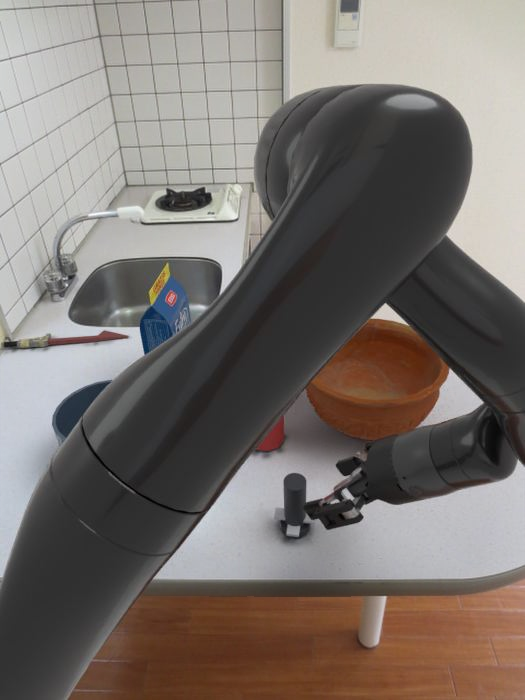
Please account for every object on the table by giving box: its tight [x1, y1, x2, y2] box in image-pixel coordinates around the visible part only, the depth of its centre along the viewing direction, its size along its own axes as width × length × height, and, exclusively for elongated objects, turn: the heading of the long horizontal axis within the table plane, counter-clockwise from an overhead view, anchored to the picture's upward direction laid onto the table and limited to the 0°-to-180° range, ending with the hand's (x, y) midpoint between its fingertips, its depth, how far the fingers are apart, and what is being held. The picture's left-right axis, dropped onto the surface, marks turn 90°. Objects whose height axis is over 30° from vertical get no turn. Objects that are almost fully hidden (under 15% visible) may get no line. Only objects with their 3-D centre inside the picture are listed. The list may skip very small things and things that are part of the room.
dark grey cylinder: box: [273, 472, 316, 540], centre depth 76 cm, size 6×6×10 cm
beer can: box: [255, 414, 285, 452], centre depth 91 cm, size 7×7×12 cm
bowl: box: [304, 318, 451, 441], centre depth 93 cm, size 25×25×15 cm
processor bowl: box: [51, 379, 114, 447], centre depth 89 cm, size 16×16×11 cm
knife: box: [0, 329, 130, 349], centre depth 124 cm, size 29×2×5 cm
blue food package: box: [139, 262, 192, 356], centre depth 101 cm, size 6×12×25 cm, turn 173°
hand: (324, 489), depth 70 cm, fingers open, 8 cm apart
